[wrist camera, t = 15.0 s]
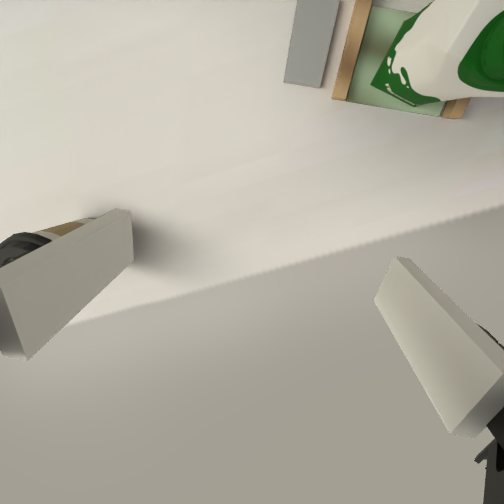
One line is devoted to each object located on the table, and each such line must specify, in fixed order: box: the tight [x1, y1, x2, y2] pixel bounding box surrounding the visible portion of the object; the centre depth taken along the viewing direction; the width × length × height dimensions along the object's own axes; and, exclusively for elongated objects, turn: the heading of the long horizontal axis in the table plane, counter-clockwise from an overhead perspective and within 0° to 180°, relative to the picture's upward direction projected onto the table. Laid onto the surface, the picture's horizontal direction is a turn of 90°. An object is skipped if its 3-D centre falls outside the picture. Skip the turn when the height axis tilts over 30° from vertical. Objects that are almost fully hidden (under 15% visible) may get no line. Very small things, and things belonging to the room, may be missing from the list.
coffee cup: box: [0, 218, 95, 265], centre depth 42 cm, size 11×11×15 cm
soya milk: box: [370, 0, 504, 107], centre depth 24 cm, size 9×9×20 cm
